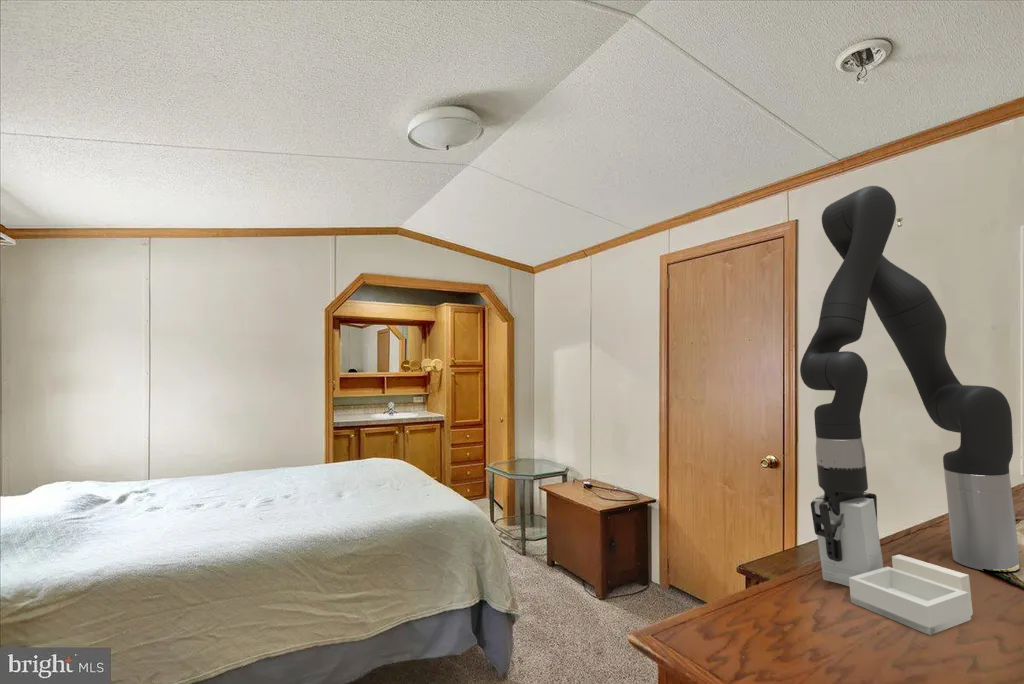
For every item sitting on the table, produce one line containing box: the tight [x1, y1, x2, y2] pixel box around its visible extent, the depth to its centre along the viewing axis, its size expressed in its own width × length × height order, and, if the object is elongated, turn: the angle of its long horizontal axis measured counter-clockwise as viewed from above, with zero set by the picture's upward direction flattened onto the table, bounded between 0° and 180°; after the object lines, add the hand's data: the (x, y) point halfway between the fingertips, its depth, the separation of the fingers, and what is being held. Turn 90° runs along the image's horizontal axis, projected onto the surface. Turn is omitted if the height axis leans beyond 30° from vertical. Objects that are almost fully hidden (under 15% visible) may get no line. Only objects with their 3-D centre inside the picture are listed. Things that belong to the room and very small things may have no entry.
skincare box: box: [812, 494, 885, 588], centre depth 92 cm, size 8×6×15 cm
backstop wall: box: [891, 553, 974, 616], centre depth 83 cm, size 2×10×6 cm, turn 21°
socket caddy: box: [849, 565, 972, 636], centre depth 81 cm, size 10×12×4 cm
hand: (848, 556), depth 92 cm, fingers closed on skincare box, 6 cm apart
